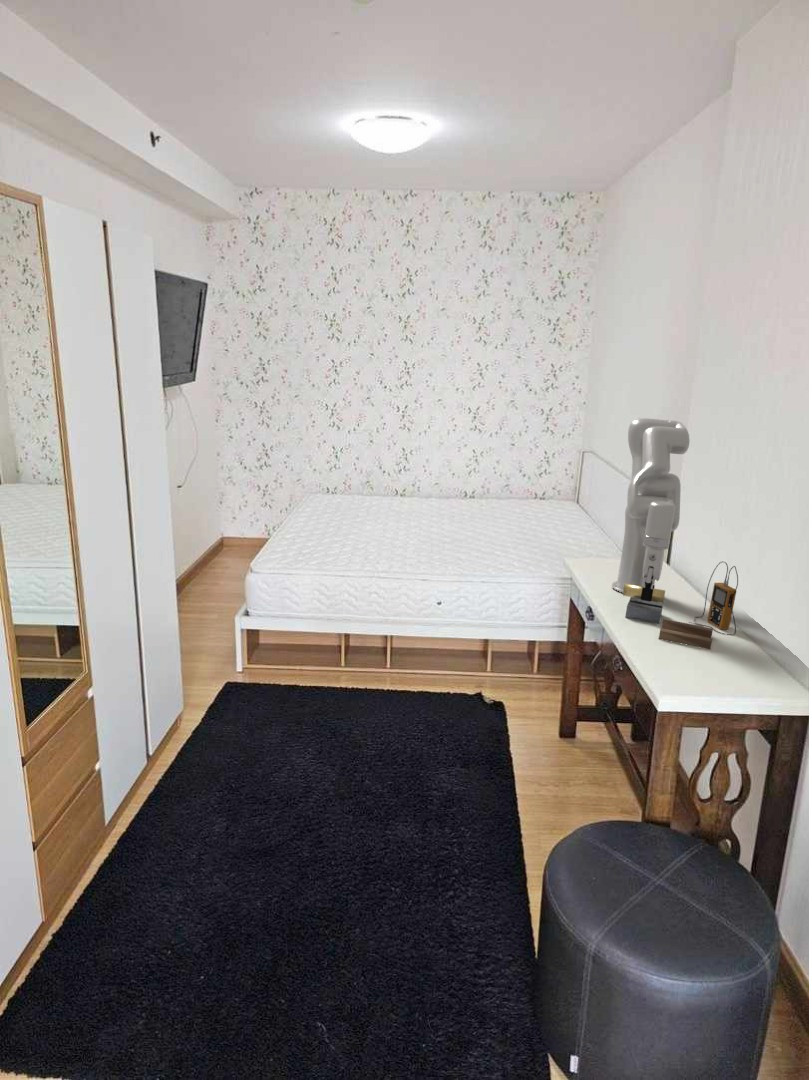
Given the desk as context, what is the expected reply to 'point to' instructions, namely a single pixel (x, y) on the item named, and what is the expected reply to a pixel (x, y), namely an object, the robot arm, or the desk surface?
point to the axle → (636, 592)
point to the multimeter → (721, 604)
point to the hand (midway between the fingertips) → (646, 597)
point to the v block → (644, 610)
